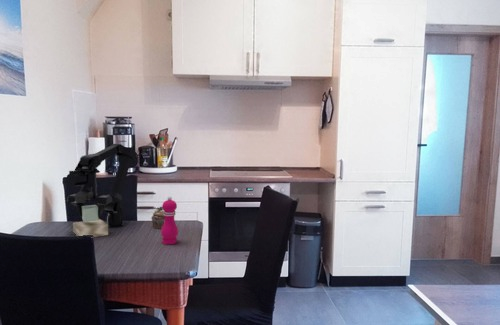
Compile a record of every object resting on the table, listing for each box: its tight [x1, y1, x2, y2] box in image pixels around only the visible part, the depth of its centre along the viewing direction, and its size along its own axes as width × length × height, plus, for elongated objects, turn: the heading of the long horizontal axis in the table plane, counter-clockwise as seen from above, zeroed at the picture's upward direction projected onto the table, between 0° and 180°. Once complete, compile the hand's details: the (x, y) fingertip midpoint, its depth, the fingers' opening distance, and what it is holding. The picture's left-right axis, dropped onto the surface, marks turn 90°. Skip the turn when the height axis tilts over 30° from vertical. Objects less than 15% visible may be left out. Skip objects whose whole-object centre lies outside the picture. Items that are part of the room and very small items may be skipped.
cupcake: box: [151, 206, 165, 230], centre depth 185 cm, size 10×10×10 cm
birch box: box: [72, 218, 109, 238], centre depth 171 cm, size 12×12×5 cm
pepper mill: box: [160, 196, 179, 245], centre depth 161 cm, size 7×7×20 cm
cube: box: [81, 204, 100, 222], centre depth 171 cm, size 6×6×6 cm
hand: (90, 217), depth 171 cm, fingers closed on cube, 8 cm apart
